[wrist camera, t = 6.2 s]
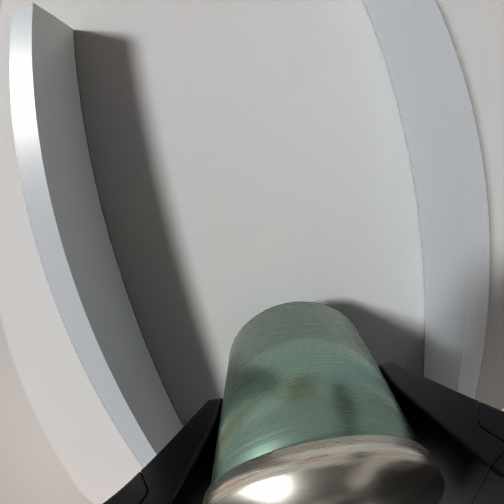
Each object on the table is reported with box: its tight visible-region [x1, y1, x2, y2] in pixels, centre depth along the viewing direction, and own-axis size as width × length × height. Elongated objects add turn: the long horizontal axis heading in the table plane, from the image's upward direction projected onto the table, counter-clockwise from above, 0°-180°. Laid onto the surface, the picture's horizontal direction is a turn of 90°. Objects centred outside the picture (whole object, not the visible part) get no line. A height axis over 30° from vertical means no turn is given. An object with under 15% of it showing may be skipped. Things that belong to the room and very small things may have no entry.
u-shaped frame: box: [9, 0, 490, 468], centre depth 9 cm, size 13×20×3 cm, turn 13°
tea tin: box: [203, 302, 445, 504], centre depth 7 cm, size 5×5×6 cm
